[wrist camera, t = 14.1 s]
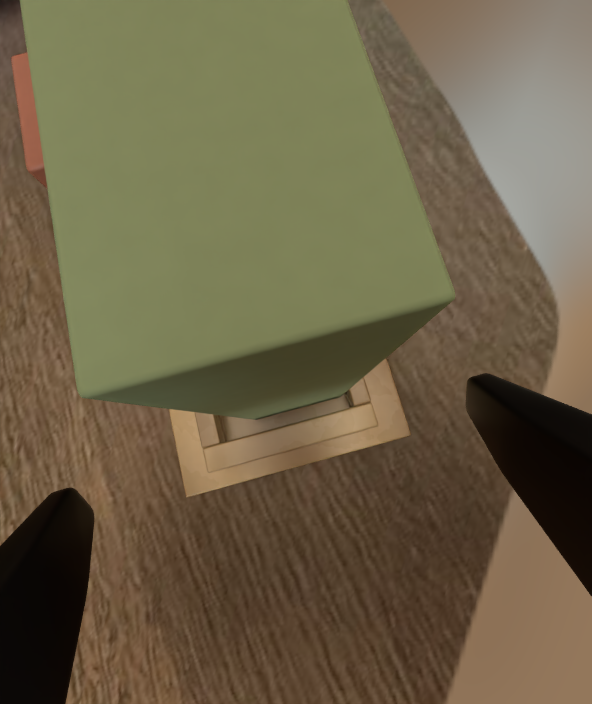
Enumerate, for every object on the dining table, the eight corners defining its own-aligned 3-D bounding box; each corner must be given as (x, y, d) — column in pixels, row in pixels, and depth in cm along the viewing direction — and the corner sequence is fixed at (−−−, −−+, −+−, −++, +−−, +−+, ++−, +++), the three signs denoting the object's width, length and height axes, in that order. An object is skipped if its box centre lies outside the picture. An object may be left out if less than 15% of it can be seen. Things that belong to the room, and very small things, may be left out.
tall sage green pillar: (308, 283, 18) (316, -92, 5) (341, 396, 17) (461, 297, 4) (226, 304, 18) (13, -20, 5) (253, 420, 16) (74, 400, 4)
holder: (302, 114, 21) (298, -235, 10) (404, 434, 17) (575, 449, 6) (126, 158, 21) (-80, -149, 10) (194, 493, 17) (-8, 613, 6)
